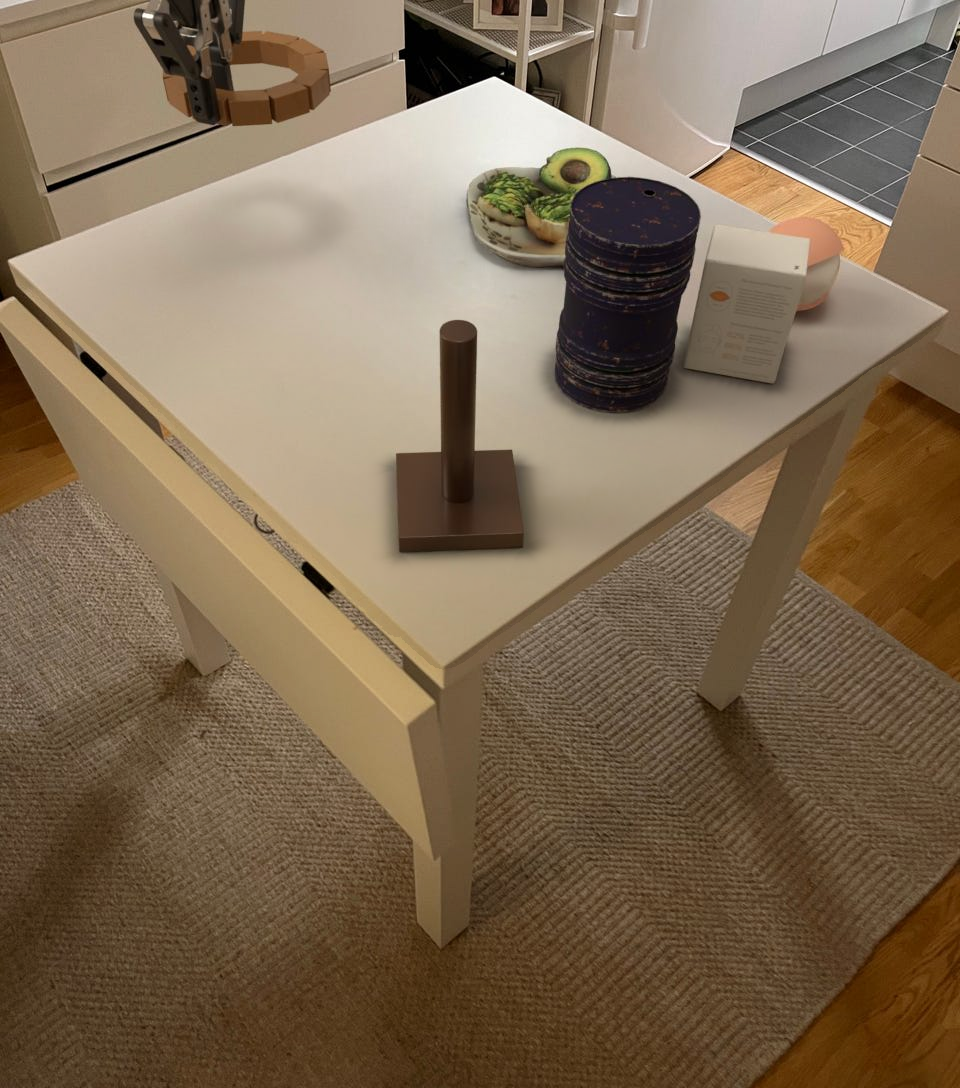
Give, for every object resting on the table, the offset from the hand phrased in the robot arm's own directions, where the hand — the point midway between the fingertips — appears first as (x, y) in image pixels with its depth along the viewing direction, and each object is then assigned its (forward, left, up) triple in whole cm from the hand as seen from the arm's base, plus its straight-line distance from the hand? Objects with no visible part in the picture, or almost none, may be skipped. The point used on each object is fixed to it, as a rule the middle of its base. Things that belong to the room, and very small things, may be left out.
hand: (215, 114), depth 83 cm
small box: (+44, -16, -14) cm, 49 cm away
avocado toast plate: (+31, +7, -14) cm, 34 cm away
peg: (+19, -33, -14) cm, 41 cm away
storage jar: (+33, -18, -14) cm, 40 cm away
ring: (+2, +6, 0) cm, 6 cm away
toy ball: (+51, -8, -14) cm, 53 cm away
